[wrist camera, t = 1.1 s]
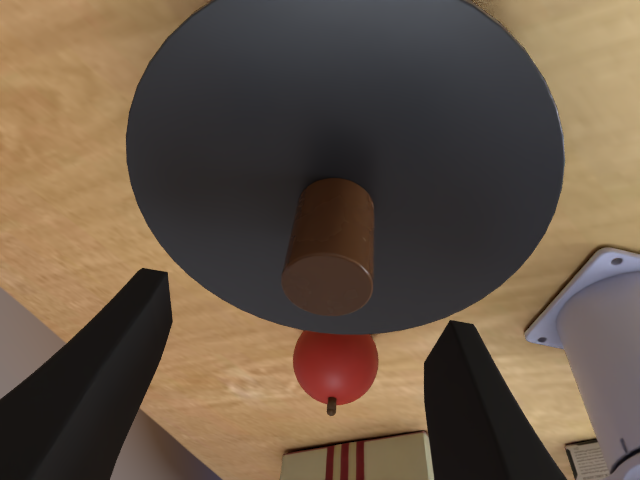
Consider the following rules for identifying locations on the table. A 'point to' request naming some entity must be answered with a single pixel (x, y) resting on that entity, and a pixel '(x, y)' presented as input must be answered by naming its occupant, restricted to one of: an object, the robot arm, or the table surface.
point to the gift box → (364, 460)
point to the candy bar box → (587, 461)
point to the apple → (335, 366)
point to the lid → (345, 158)
